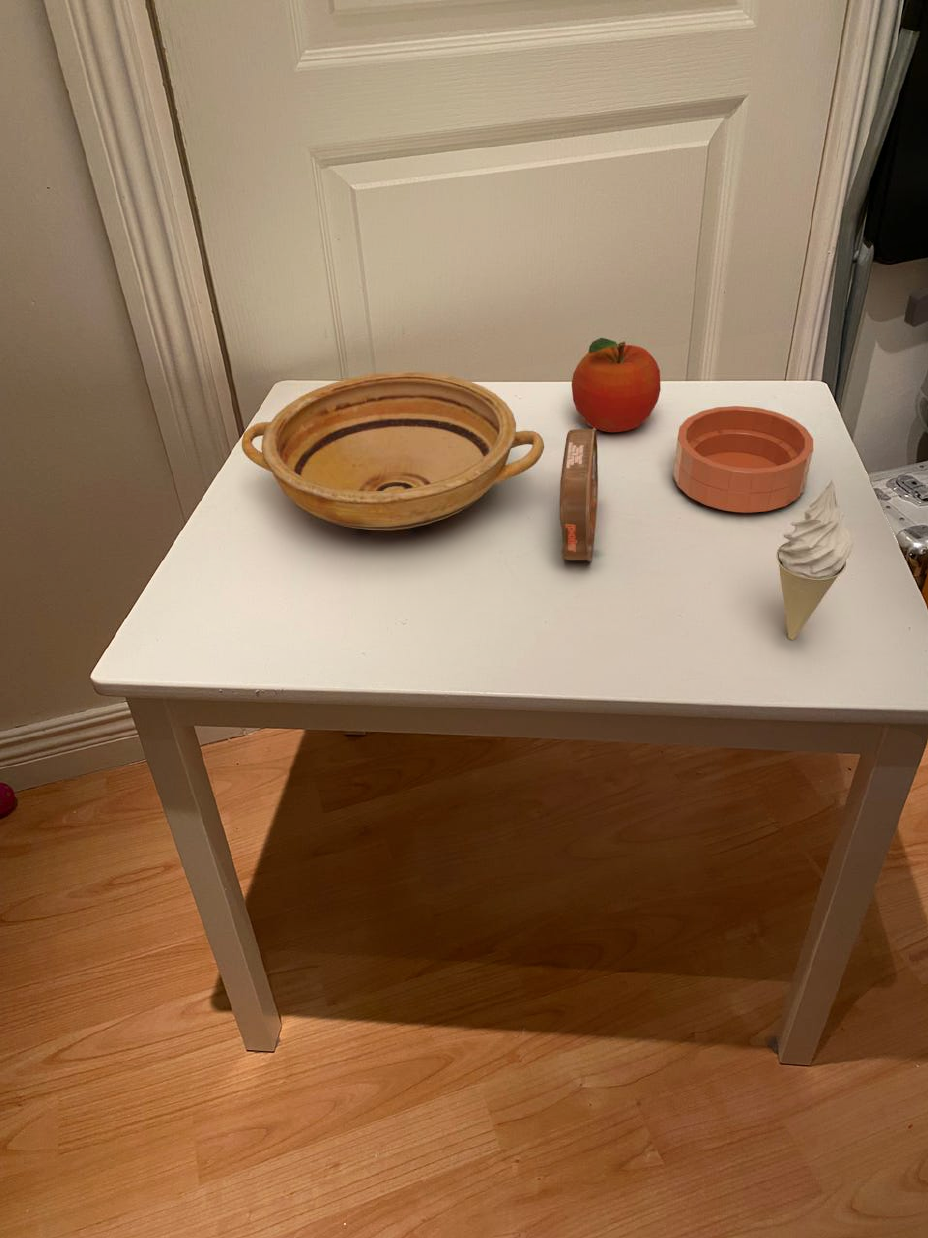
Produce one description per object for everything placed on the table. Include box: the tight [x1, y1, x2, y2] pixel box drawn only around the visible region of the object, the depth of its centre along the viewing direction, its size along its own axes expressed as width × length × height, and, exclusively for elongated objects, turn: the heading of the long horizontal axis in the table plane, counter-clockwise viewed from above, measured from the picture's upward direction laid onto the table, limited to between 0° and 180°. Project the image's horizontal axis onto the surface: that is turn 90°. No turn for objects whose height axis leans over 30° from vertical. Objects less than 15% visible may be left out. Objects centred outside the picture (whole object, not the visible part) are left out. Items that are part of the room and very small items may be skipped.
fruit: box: [571, 337, 662, 433], centre depth 100 cm, size 10×10×10 cm
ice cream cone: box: [775, 480, 854, 641], centre depth 71 cm, size 5×5×15 cm
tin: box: [558, 427, 599, 562], centre depth 86 cm, size 15×3×8 cm, turn 171°
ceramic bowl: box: [241, 371, 545, 531], centre depth 91 cm, size 30×24×8 cm
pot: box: [672, 405, 814, 514], centre depth 92 cm, size 13×13×5 cm
